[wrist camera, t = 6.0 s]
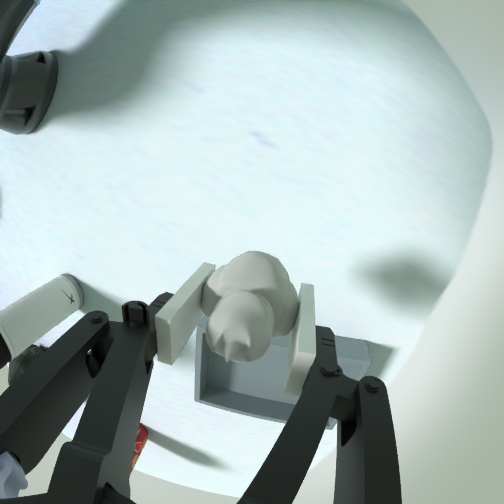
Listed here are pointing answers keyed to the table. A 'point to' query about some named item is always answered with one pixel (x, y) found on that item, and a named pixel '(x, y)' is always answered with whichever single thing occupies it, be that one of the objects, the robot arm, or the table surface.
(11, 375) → the squash
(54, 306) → the travel mug
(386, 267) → the table surface
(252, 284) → the white animal figurine
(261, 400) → the bin
